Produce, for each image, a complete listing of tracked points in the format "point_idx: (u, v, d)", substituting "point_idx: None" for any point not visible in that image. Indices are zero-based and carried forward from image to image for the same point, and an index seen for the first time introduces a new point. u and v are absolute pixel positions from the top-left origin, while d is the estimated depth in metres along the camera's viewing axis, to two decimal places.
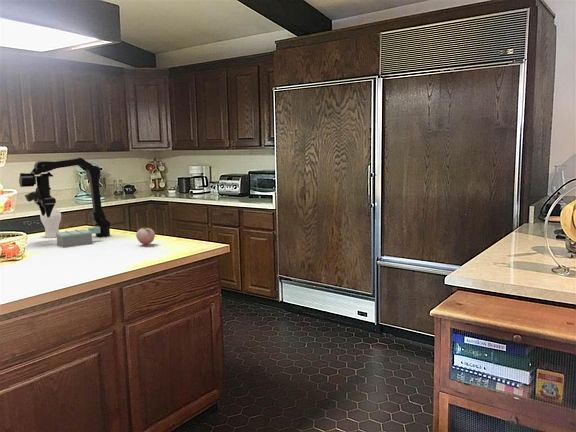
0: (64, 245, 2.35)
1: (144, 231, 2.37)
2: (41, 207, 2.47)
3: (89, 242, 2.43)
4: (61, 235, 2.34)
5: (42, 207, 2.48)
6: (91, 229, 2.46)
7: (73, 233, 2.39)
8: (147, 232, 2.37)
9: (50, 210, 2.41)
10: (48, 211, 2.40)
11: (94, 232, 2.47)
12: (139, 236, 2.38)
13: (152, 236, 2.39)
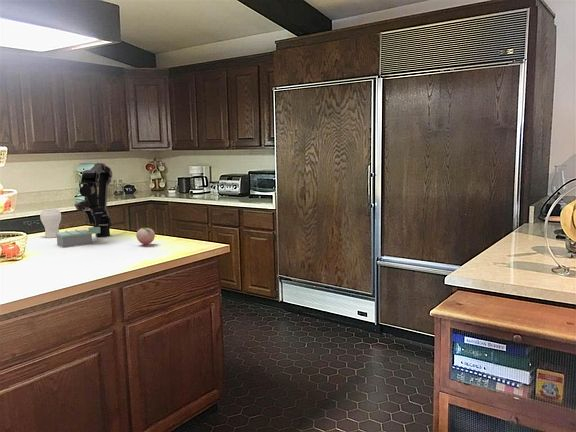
0: (64, 245, 2.35)
1: (144, 231, 2.37)
2: (89, 216, 2.51)
3: (89, 242, 2.43)
4: (61, 235, 2.34)
5: (90, 216, 2.51)
6: (91, 229, 2.46)
7: (73, 233, 2.39)
8: (147, 232, 2.37)
9: (99, 219, 2.44)
10: (97, 220, 2.44)
11: (94, 232, 2.47)
12: (139, 236, 2.38)
13: (152, 236, 2.39)
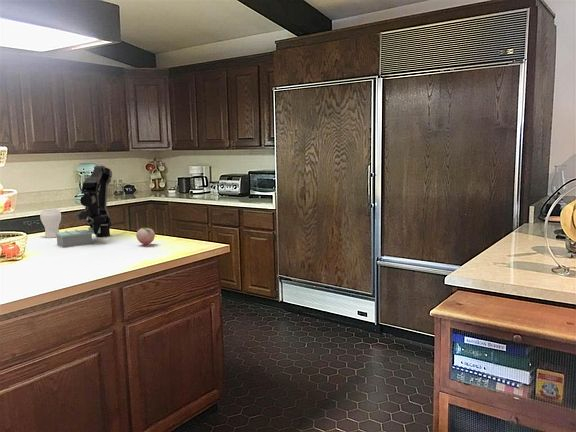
0: (64, 245, 2.35)
1: (144, 231, 2.37)
2: (91, 225, 2.49)
3: (89, 242, 2.43)
4: (61, 235, 2.34)
5: (92, 225, 2.50)
6: (91, 229, 2.46)
7: (73, 233, 2.39)
8: (147, 232, 2.37)
9: (98, 227, 2.47)
10: (96, 228, 2.46)
11: None
12: (139, 236, 2.38)
13: (152, 236, 2.39)
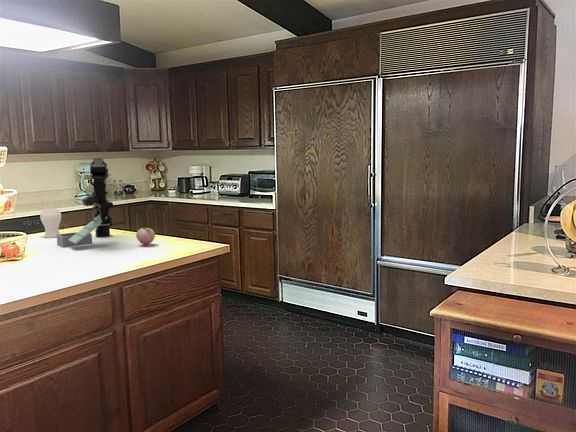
0: (64, 245, 2.35)
1: (144, 231, 2.37)
2: (98, 212, 2.39)
3: (89, 242, 2.43)
4: (74, 242, 2.27)
5: (99, 212, 2.40)
6: (97, 219, 2.36)
7: (83, 233, 2.31)
8: (147, 232, 2.37)
9: (105, 214, 2.37)
10: (103, 215, 2.36)
11: (101, 220, 2.37)
12: (139, 236, 2.38)
13: (152, 236, 2.39)
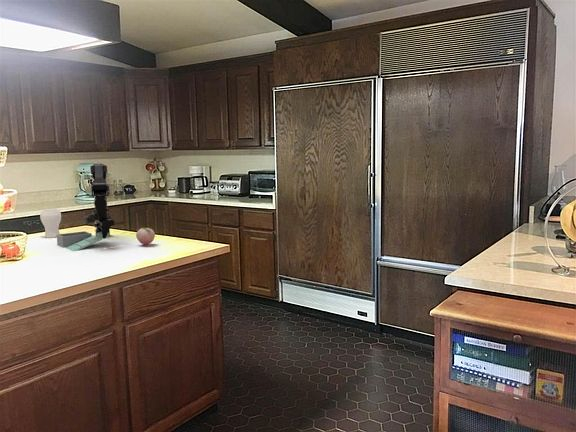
0: (64, 245, 2.35)
1: (144, 231, 2.37)
2: (100, 229, 2.40)
3: None
4: None
5: (101, 229, 2.41)
6: (99, 235, 2.37)
7: (83, 244, 2.31)
8: (147, 232, 2.37)
9: (106, 231, 2.38)
10: (104, 232, 2.38)
11: None
12: (139, 236, 2.38)
13: (152, 236, 2.39)
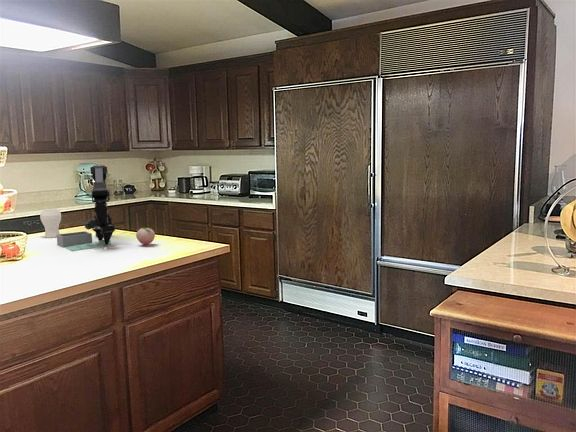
0: (64, 245, 2.35)
1: (144, 231, 2.37)
2: (98, 234, 2.43)
3: (89, 242, 2.43)
4: (71, 250, 2.26)
5: (99, 234, 2.43)
6: (101, 242, 2.38)
7: (83, 247, 2.31)
8: (147, 232, 2.37)
9: (108, 238, 2.37)
10: (107, 239, 2.36)
11: None
12: (139, 236, 2.38)
13: (152, 236, 2.39)
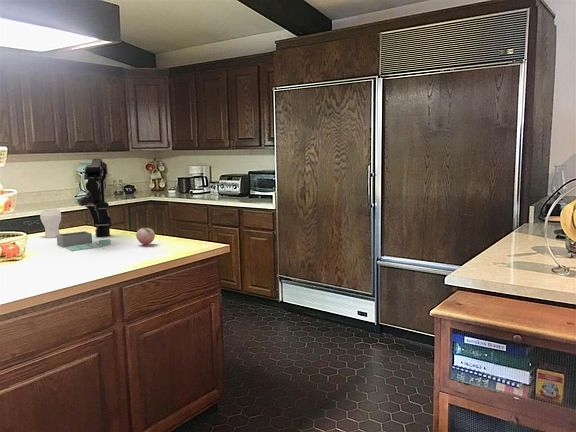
0: (64, 245, 2.35)
1: (144, 231, 2.37)
2: (91, 211, 2.44)
3: (89, 242, 2.43)
4: (71, 250, 2.26)
5: (92, 211, 2.45)
6: (101, 242, 2.38)
7: (83, 247, 2.31)
8: (147, 232, 2.37)
9: (102, 215, 2.38)
10: (101, 216, 2.37)
11: None
12: (139, 236, 2.38)
13: (152, 236, 2.39)
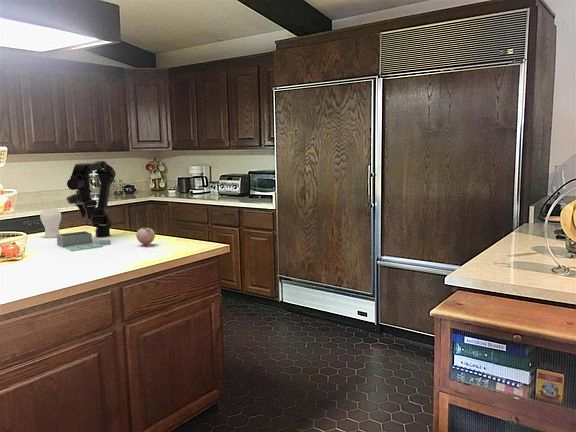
0: (64, 245, 2.35)
1: (144, 231, 2.37)
2: (81, 209, 2.50)
3: (89, 242, 2.43)
4: (71, 250, 2.26)
5: (82, 209, 2.50)
6: (101, 242, 2.38)
7: (83, 247, 2.31)
8: (147, 232, 2.37)
9: (91, 212, 2.43)
10: (89, 213, 2.43)
11: None
12: (139, 236, 2.38)
13: (152, 236, 2.39)
